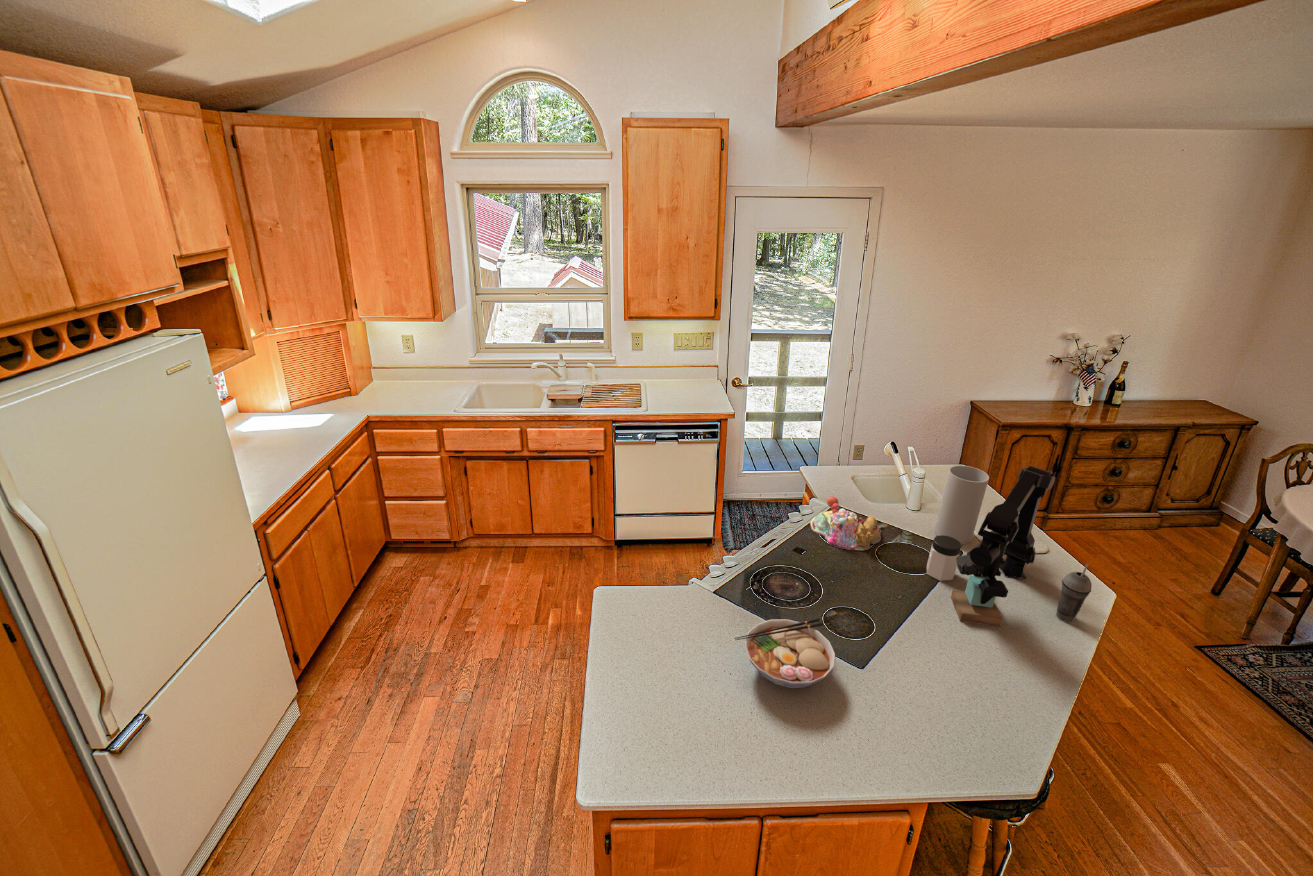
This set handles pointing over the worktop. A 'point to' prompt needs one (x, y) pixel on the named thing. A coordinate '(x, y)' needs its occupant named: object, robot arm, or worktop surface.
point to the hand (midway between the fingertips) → (979, 596)
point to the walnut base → (975, 611)
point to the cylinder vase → (961, 503)
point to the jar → (943, 558)
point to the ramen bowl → (789, 652)
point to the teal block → (976, 592)
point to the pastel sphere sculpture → (845, 528)
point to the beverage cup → (1073, 595)
